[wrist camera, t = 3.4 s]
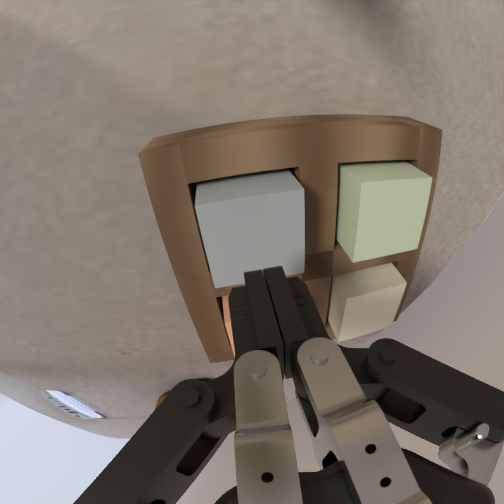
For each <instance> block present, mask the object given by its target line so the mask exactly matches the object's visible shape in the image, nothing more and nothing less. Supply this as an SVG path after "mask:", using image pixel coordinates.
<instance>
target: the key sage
mask: <svg viewBox="0 0 504 504" xmlns="http://www.w3.org/2000/svg"><path fill="white" fill-rule="evenodd" d="M431 183H432V177H431V176H429V175H427V174H426V173H424V172H423V171H421V170H419V169H418V168H416V167H414V166H413V165H411V164H409V163H407V162H406V161H404V160H399V161H373V162H355V163H341V164H338V184H337V209H336V226H335V238H336V239H337V241H338V242H339V243H340V245H341V246H342V248H343V249H344V251H345V252H346V254H347V255H348V257H349V258H350V260H351V261H352V263H354V262H359V261H364V260H369V259H373V258H378V257H383V256H387V255H392V254H396V253H401V252H405V251H410V250H414V249H417V248H418V244H419V240H420V236H421V232H422V228H423V224H424V219H425V215H426V210H427V205H428V200H429V195H430V189H431Z"/></svg>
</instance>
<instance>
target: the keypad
mask: <svg viewBox="0 0 504 504" xmlns="http://www.w3.org/2000/svg"><path fill="white" fill-rule="evenodd" d="M441 140H442V130H441V129H439V128H436V127H433V126H431V125H428V124H425V123H423V122H420V121H417V120H414V119H411V118H408V117H398V116H382V115H309V116H292V117H279V118H268V119H259V120H250V121H242V122H235V123H228V124H222V125H216V126H210V127H204V128H199V129H193V130H188V131H183V132H179V133H174V134H170V135H165V136H161V137H157V138H153V139H152V140H151V141H150V142H149V143H148V145H147V146H146V147H145V148H144V149H143V150H142V151H141V152H140V153H139V154H138V155H139V159H140V163H141V167H142V171H143V174H144V178H145V182H146V185H147V189H148V193H149V196H150V199H151V203H152V206H153V210H154V213H155V216H156V220H157V223H158V226H159V229H160V232H161V235H162V238H163V241H164V244H165V247H166V250H167V253H168V256H169V259H170V262H171V265H172V268H173V271H174V273H175V276H176V279H177V282H178V284H179V287H180V290H181V293H182V295H183V298H184V300H185V303H186V306H187V308H188V311H189V313H190V316H191V318H192V321H193V323H194V326H195V328H196V331H197V333H198V335H199V338H200V340H201V343H202V345H203V347H204V350H205V352H206V354H207V356H208V359H209V361H210V363H214V362H221V361H228V360H235V357H234V353H233V350H232V346H231V343H230V340H229V336H228V333H227V329H226V326H225V321H224V311H223V300H222V296H227V295H229V294H230V292H231V290H232V288H234V287H240V286H245V283H244V284H238V285H232V286H226V287H220V288H215V286H214V282H213V278H212V275H211V271H210V267H209V263H208V259H207V255H206V251H205V247H204V243H203V239H202V235H201V231H200V226H199V222H198V218H197V214H196V209H195V199H196V189H197V183H198V182H203V181H209V180H214V179H220V178H226V177H232V176H238V175H245V174H251V173H258V172H266V171H273V170H281V169H288V170H289V171H290V172H291V173H292V175H293V176H294V177H295V178H296V179H297V181H298V182H299V183H300V184H301V186H302V187H303V188H304V203H305V269H304V273H299V274H294V275H288V276H286V278H289V277H294V276H298V277H299V278H300V279H301V280H302V281H303V282H305V283H306V285H307V287H308V289H309V292H310V294H311V296H312V298H313V301H314V304H315V305H316V308H317V310H318V312H319V315H320V317H321V319H322V322H323V324H324V326H325V329H326V331H327V333H328V335H329V337H330V338H331V339H336V337H335V334H334V332H333V330H332V327H331V325H330V323H329V321H328V318H327V309H328V301H329V293H330V284H331V276H333V275H338V274H343V273H348V272H352V271H357V270H361V269H366V268H370V267H375V266H379V265H384V264H388V263H392V264H393V265H394V267H395V268H396V269H397V270H398V272H399V273H400V274H401V275H402V277H403V278H404V279H405V281H406V282H407V284H406V287H405V290H404V293H403V296H402V299H401V302H400V304H399V307H398V310H397V313H396V315H395V318H394V320H393V322H394V321H396V320H397V318H398V316H399V313H400V311H401V308H402V305H403V303H404V300H405V297H406V295H407V292H408V289H409V286H410V283H411V280H412V277H413V274H414V271H415V268H416V264H417V261H418V258H419V254H420V251H421V247H422V244H423V240H424V236H425V232H426V228H427V224H428V220H429V215H430V211H431V206H432V201H433V196H434V190H435V185H436V179H437V172H438V166H439V158H440V150H441ZM399 160H404V161H406V162H407V163H409V164H411V165H413V166H414V167H416V168H418V169H419V170H421V171H423V172H424V173H426V174H427V175H429V176H431V177H432V183H431V189H430V195H429V200H428V205H427V210H426V215H425V219H424V224H423V228H422V232H421V236H420V240H419V244H418V248H417V249H414V250H410V251H405V252H401V253H396V254H392V255H387V256H383V257H378V258H373V259H369V260H364V261H359V262H354V263H352V261H351V260H350V258H349V257H348V255H347V254H346V252H345V251H344V249H343V248H342V246H341V245H340V243H339V242H338V241H337V239H336V238H335V226H336V209H337V184H338V164H341V163H355V162H373V161H399Z"/></svg>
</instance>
